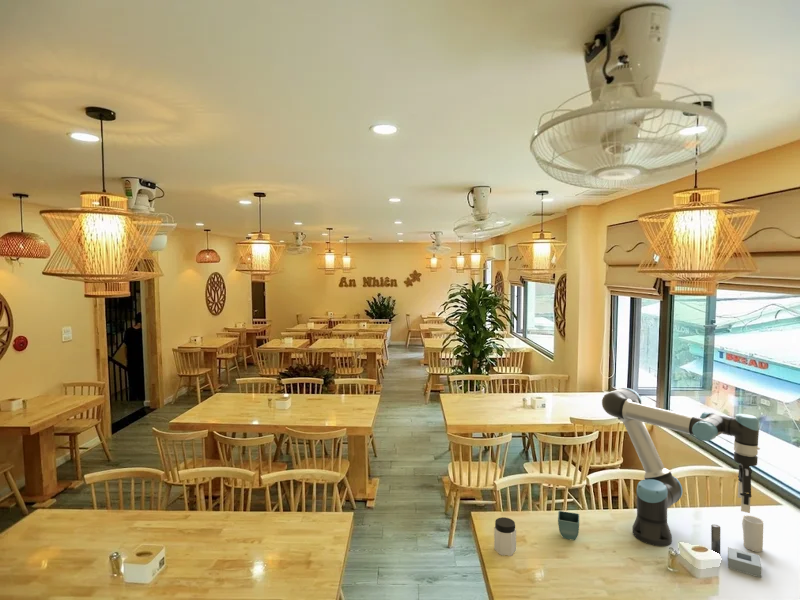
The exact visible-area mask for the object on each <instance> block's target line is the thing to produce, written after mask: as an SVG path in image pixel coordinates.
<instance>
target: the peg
mask: <svg viewBox="0 0 800 600" xmlns="http://www.w3.org/2000/svg"><path fill="white" fill-rule="evenodd" d="M710 529H711V530H710V531H711V533H710V534H711V535H710V536H711V537H710V538H711V541H710V542H711V544H710V545H711V550H713V551H715V552H717V553H719V554H720V555H721V526H720V525H718V524H711V528H710ZM711 550H710V551H711Z"/></svg>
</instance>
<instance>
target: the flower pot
mask: <svg viewBox="0 0 800 600" xmlns="http://www.w3.org/2000/svg"><path fill="white" fill-rule="evenodd" d="M557 514H558V516H557V525H558V531H559V534H560V537H562V539H565V538H566V539H565V540H570V539H571V541H576V540H577V539H578V537H579V533H580V532H579V531H580V514H579V513H575V512H569V511H568V512H567V511H564V510H558V513H557Z"/></svg>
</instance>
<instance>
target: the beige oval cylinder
mask: <svg viewBox="0 0 800 600" xmlns="http://www.w3.org/2000/svg"><path fill="white" fill-rule="evenodd" d="M741 521H742V523H741V525H742V526H741V527H742V535H743V546H744V548H746V549H747V550H749V551H753V552H757V553H761V552H762V551H763V550H764V549H763V545H764V543H763V542H764V521H763V520H762V519H761V518H760V517H756V516H754V515H743V516H742V520H741Z"/></svg>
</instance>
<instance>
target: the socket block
mask: <svg viewBox="0 0 800 600" xmlns="http://www.w3.org/2000/svg"><path fill="white" fill-rule="evenodd" d="M761 562H762V561H761V556H760V555H759V554H755V553H751V552H748V551H744V550H740V549H737V548H732V547H729V546H728V547H727V566H728V567H727V568H728V569H730V570H733V571H737V572H741V573H744V574H747V575H751V576H755V577H758V578H762V563H761Z"/></svg>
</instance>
